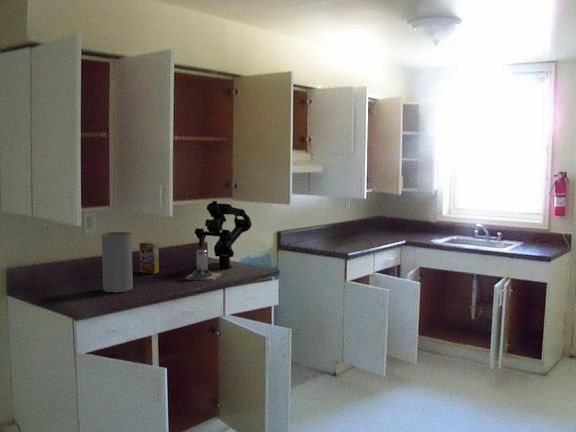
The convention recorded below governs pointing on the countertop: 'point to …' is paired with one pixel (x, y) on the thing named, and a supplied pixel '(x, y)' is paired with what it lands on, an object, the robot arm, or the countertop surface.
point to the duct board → (213, 277)
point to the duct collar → (204, 275)
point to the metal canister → (202, 261)
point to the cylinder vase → (117, 261)
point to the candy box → (149, 257)
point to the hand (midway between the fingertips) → (208, 247)
